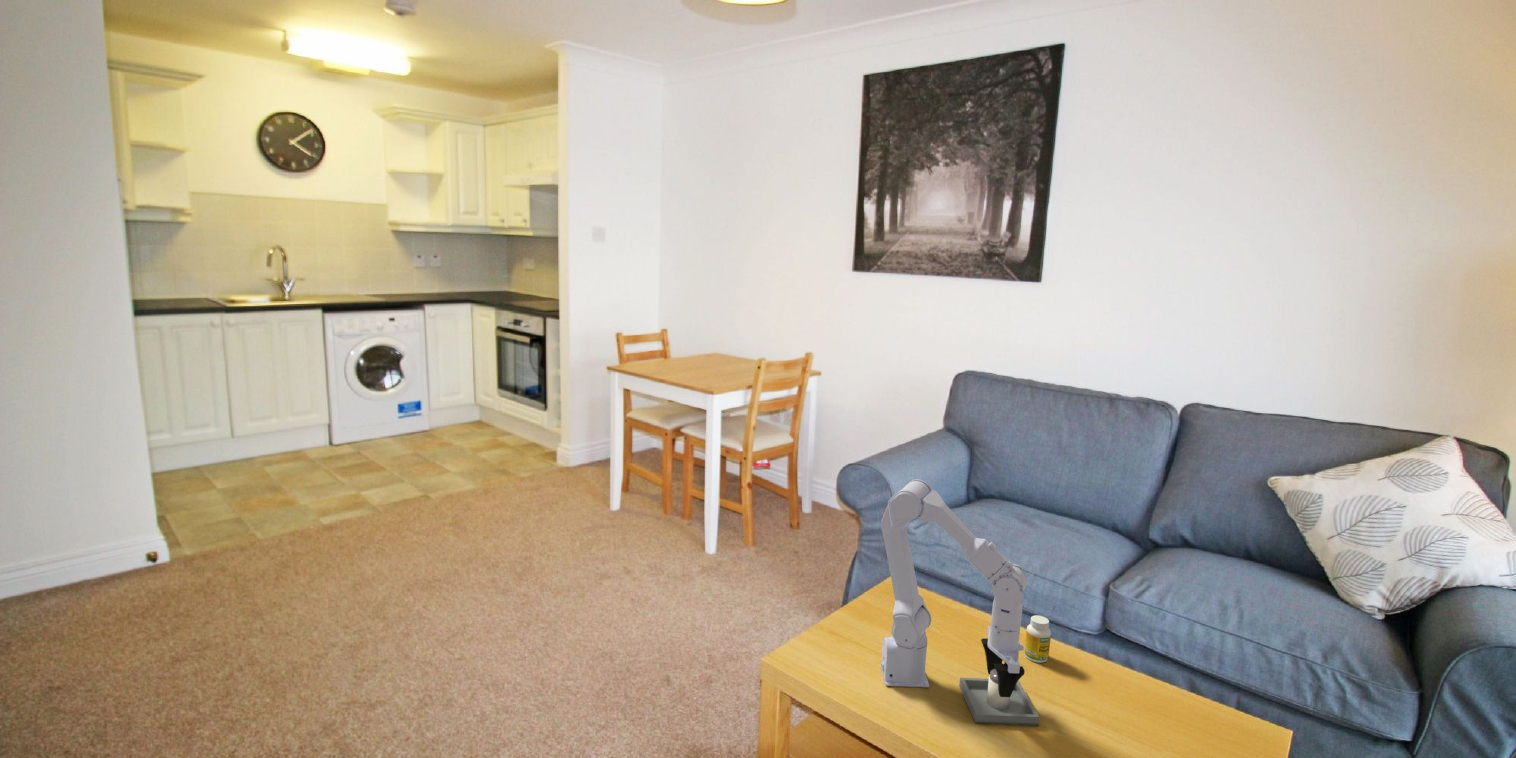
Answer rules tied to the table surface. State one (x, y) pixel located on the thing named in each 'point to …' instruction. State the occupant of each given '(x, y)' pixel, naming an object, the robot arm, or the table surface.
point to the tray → (985, 714)
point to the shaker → (996, 693)
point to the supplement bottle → (1038, 639)
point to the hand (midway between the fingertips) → (998, 684)
